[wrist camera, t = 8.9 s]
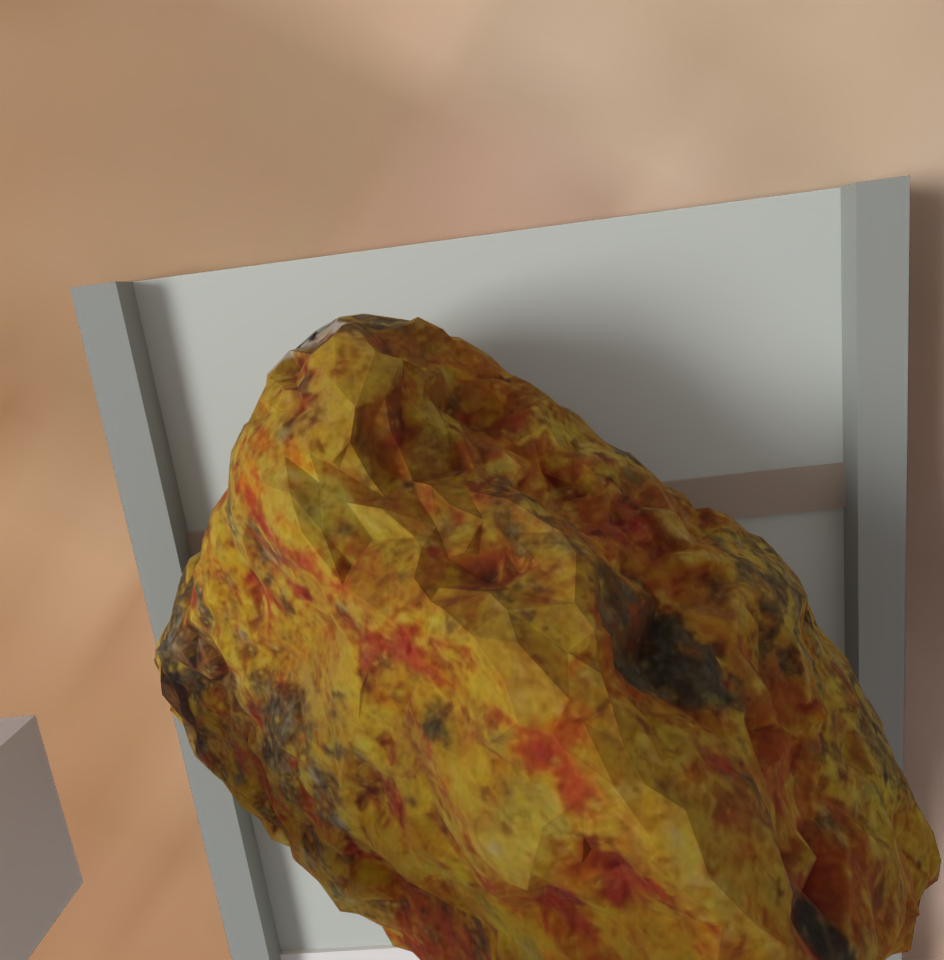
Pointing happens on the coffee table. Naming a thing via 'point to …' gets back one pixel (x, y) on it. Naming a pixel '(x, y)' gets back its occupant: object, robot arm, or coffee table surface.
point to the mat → (570, 383)
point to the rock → (526, 681)
